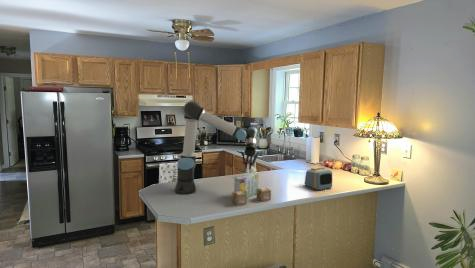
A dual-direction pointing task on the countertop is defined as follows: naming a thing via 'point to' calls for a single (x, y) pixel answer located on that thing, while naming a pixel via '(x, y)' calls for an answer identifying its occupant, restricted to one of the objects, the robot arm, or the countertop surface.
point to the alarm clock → (318, 178)
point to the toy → (252, 169)
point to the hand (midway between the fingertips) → (247, 172)
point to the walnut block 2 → (263, 194)
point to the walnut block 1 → (239, 198)
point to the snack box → (247, 183)
